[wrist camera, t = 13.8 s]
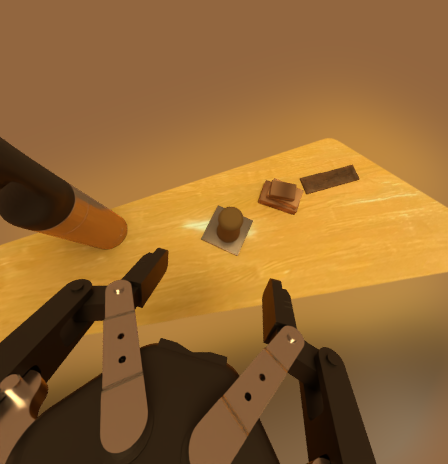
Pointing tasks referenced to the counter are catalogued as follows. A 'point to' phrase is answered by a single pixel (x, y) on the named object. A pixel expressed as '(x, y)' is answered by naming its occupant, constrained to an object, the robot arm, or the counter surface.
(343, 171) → the wooden plank
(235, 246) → the slate coaster
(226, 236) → the cork
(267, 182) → the offcut stack
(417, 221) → the counter surface
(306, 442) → the robot arm
